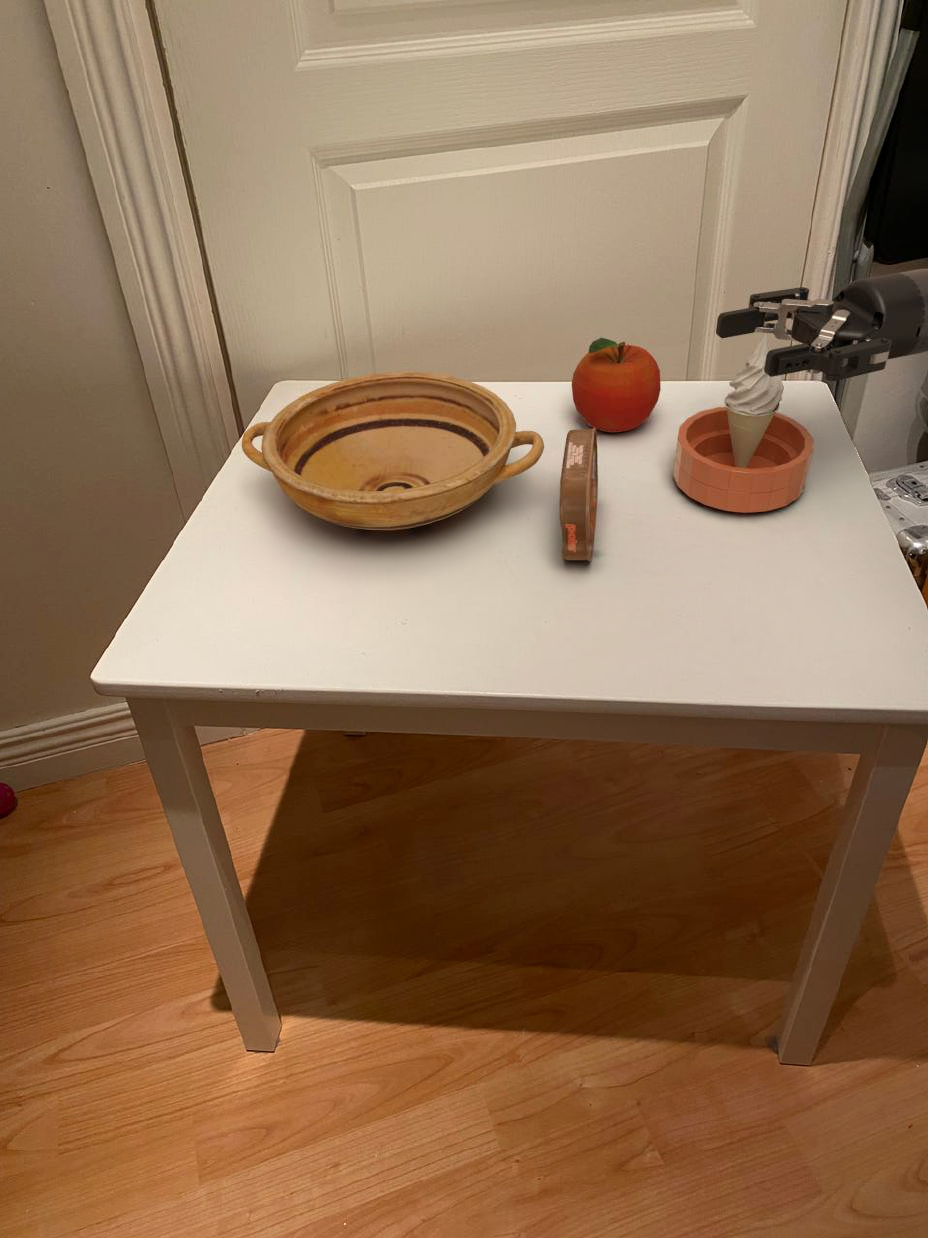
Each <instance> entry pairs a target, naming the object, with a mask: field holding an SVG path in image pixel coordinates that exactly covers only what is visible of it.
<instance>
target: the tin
mask: <svg viewBox="0 0 928 1238" xmlns="http://www.w3.org/2000/svg"><path fill="white" fill-rule="evenodd" d="M563 451H564V452H563V457H562V466H561V473H560V483H559V498H558V499H559V503H558V505H559V508H558V509H559V510H558V511H559V512H558V513H559V523H560V528H561V539H562V549H561V556H562V558H563V559H564V560H567V561H588V562H592V560H593V554H594V546H595V545H594V544H595V537H596V536H595V533H596V523H597V515H598V514H597V513H598V495H599V476H598V475H599V470H598V469H599V468H598V467H599V466H598V458H599V457H598V434H597V429H596V428H594V427H592V428H581V429H580V428H579V429H578V428H577V429H571V430H570V429H569V431H568V432H567V435H566V439H565V444H564V450H563Z"/></svg>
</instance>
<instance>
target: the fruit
mask: <svg viewBox="0 0 928 1238" xmlns="http://www.w3.org/2000/svg"><path fill="white" fill-rule="evenodd" d="M661 387H662V386H661V370H660V368H659V365H658V361H656V359H655V358H654V356H653V355H652V354H651V353H650V352H649V351H648V350H647V349H645V348H643V347H642V346H637V345H632V344H626V341H622V342H619V343H617V341H614V340H612V339H608V338H604V337H599V338H597V339H595V340H593V341H592V342H591V344H590V345H589V347H588V352H587V353H586V354H585V355H584V356H583V357H582V358H581V359H580V361H579V362H578V364H577V365H576V367H575V369H574V372H573V373H572V379H571V392H572V393H571V394H572V401H573V403H574V406H575V409H576V412H578V414H579V415H580V416H581V418H582V419H583V420H584V423H586V424H587V425H589V426H590V427H592V428H596V430H599V431H602V432H607V433H620V432H621V433H622V432H627V431H631V430H633V429H636V428H638V427H639V426H640V425H642V424H643V423H644V422H645V421H646V420H647V419H649V417H650V415H651V414H652V412H653V411H654V409H655V407H656V405H657V403H658V401H659V398H660V393H661V390H662V389H661Z"/></svg>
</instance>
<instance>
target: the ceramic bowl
mask: <svg viewBox="0 0 928 1238" xmlns="http://www.w3.org/2000/svg"><path fill="white" fill-rule="evenodd" d="M514 415H515V414H514V413H513V411H512V410H511V408H510V407H509V406H508V404H507V403H506V402H505V401H504V400H503V399H502V398H501V397H499V396H498V395H497V394H496V393H495V392H493V391H491V390H489V389H488V388H486V387H484V386H483V385H480V384H477V383H475V382H473V381H471V380H467V379H463V378H461V377H460V378H459V377H456V376H453V375H452V376H451V375H446V374H440V373H435V372H434V373H433V372H421V371H420V372H419V371H393V372H392V371H391V372H382V373H381V372H380V373H372V374H367V375H361V376H355V377H351V378H347V379H343V380H339V381H335V382H332V383H329V384H326V385H324V386H321V387H318V388H316V389H314V390H312V391H310V392H308V393H305V394H303V395H301V396H300V397H298V398H296V399H295V400H293V401H292V402H290V403H288V404H287V405H286V406H284V408H282V409H281V410H280V411H279V412H278V413H277V414H275V416H274V417H273V418H272V419H271V421H262V422H261V421H260V422H258V423H255V424H253V425H252V426H250V427H249V428H248V429H247V430H245V432H244V433H243V435H242V439H241V449H242V452H243V453H244V455H245V456H246V458H247V459H249V460H250V461H251V462H252V463H254V464H256V465H258V466H259V467H261V468H263V469H264V470H266V471H268V472H270V473H272V475H273V476H274V478H275V480H276V482H277V483H278V485H279V486H280V488H281V490H282V491H283V492H284V494H286V496H287V497H288V498H289V499H290V500H292V501H293V502H294V503H295V504H296V505H297V506H298V507H300V508H301V509H303V510H304V511H306V512H308V513H310V514H312V515H313V516H315V517H317V518H319V519H321V520H323V521H326V522H329V523H332V524H335V525H338V526H342V527H346V528H351V529H358V530H359V529H360V530H370V531H400V530H401V531H402V530H403V531H404V530H409V529H414V528H417V527H420V526H425V525H429V524H432V523H436V522H438V521H440V520H444V519H447V518H449V517H451V516H454V515H456V514H458V513H460V512H462V511H463V510H466V509H467V508H468V507H470V506H471V505H473V504H475V502H477V501H478V500H479V499H481V498H482V496H484V495H485V494H486V493H487V492H489V491H490V489H491V488H492V487H493V486H494V485H495V484H498V483H502V482H504V481H506V480H509V479H511V478H513V477H516V476H518V475H520V474H522V473H524V472H526V471H527V470H529V469H531V468H532V467H534V466H535V465H536V464H537V463H538V461H539V460H540V458H541V457H542V455H543V453H544V450H545V442H544V439H543V437H542V436H541V435H540V433H538V432H537V431H533V430H521V431H517V422H516V419H515V416H514ZM258 437H261V445H260V446H261V447H260V450H259V449H257V448H256V447H255V446H254V444H253V441H254V440H255V439H256V438H258ZM523 445H524V446H525V445H530V446H531V449H530V450H529V452H527V454H525V455H524V456H523V457H521V458H520V459H518V460H515V461H514V462H511V463H508V464H507V462H508V459H509V456H510V453H511V450H512V449H515V448H517V447H520V446H523Z"/></svg>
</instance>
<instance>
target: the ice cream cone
mask: <svg viewBox="0 0 928 1238" xmlns="http://www.w3.org/2000/svg"><path fill="white" fill-rule="evenodd" d="M770 350H771V349H770V346H769V340H768V336H767V333H766V332H765V333H764V334H763V335H762V337H761V338H760V340H759V341H758V343H757V345H756V346H755V348H754V349H753V350H752V352H751V353H750V355H749V356H748V358H747V359H745V360H744V362H745V367H744V368H743V369H742V370H740V371H737V372H736V373H734V375H735V376H737V377H738V379H735V380H731V381H729V382H728V384H729V386H730V387H732V388H733V389H734V390H733V391H731V392H729V393H727V395H726V397H725V398H724V401H723V403H724V405H725V406H724V407H726V408H727V415H728V422H729V429H730V435H731V441H732V448H733V454H734V461H735V467H740V468H747V466H748V464H749V462H750V460H751V458H752V456H753V454H754V452H755V451H756V449H757V447H758V445H759V443H760V441H761V439H762V437H763V435H764V433H765V431H766V429H767V427H768V425H769V423H770V421H771V419H772V418H773V416H774V414H775V412H777V411H778V410H779V409H780V406H781V405H780V402H782V400H783V397H782V396H783V393H784V389H785V386H784V384H783V381H782V378H781V375H779V376H774V377H770V376H769V375H767V374H766V373H765V372H764V367H765V361H766V356H767V353H768V352H769V351H770Z"/></svg>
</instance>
